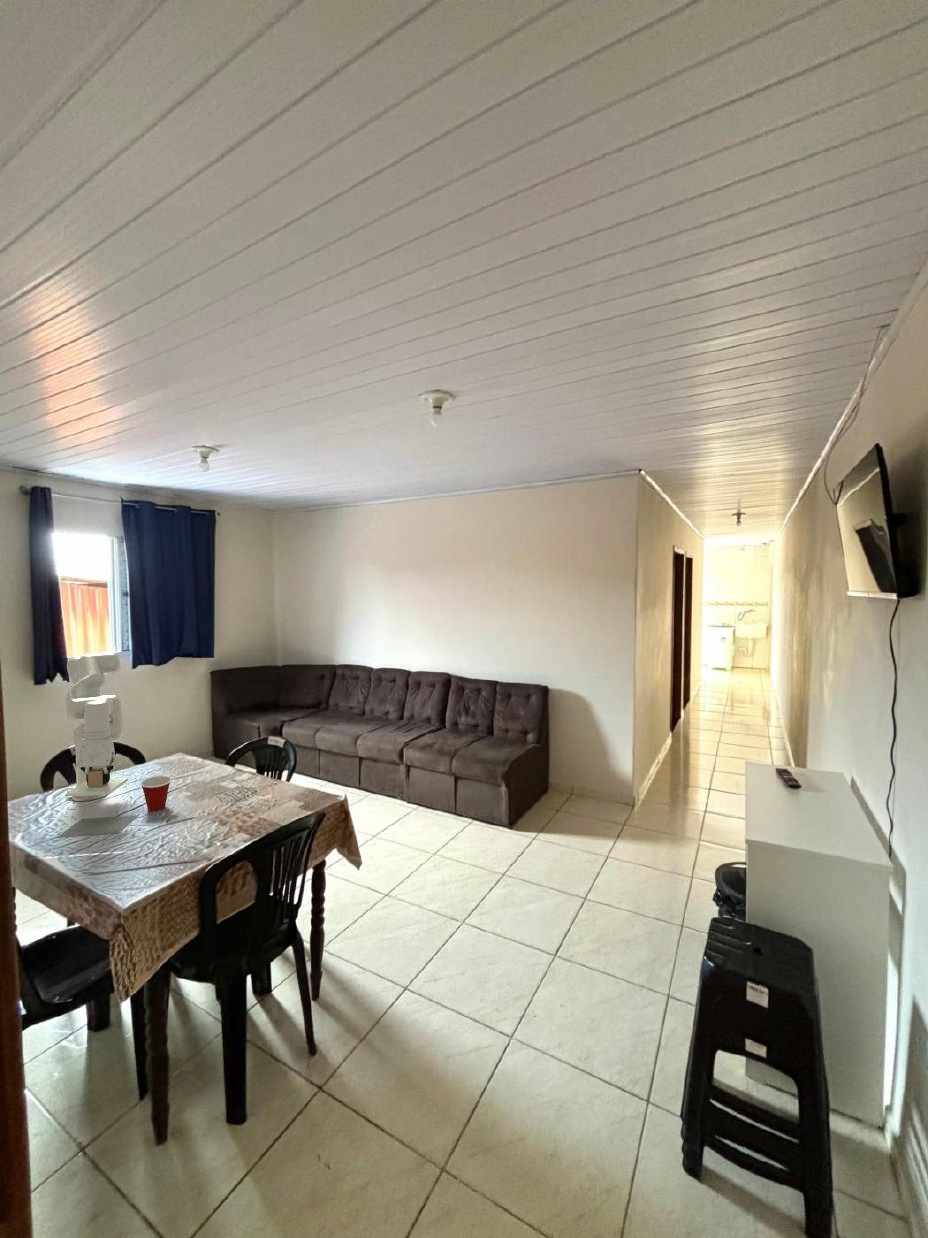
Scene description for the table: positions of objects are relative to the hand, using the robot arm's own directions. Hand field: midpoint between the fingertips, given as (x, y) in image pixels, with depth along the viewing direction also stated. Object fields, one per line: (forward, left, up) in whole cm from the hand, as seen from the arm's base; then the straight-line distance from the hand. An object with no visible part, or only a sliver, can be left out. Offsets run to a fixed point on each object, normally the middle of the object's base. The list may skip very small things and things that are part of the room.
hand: (98, 783), depth 189 cm
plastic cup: (+14, +14, -17) cm, 26 cm away
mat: (0, 0, -16) cm, 16 cm away
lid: (0, 0, -2) cm, 2 cm away
